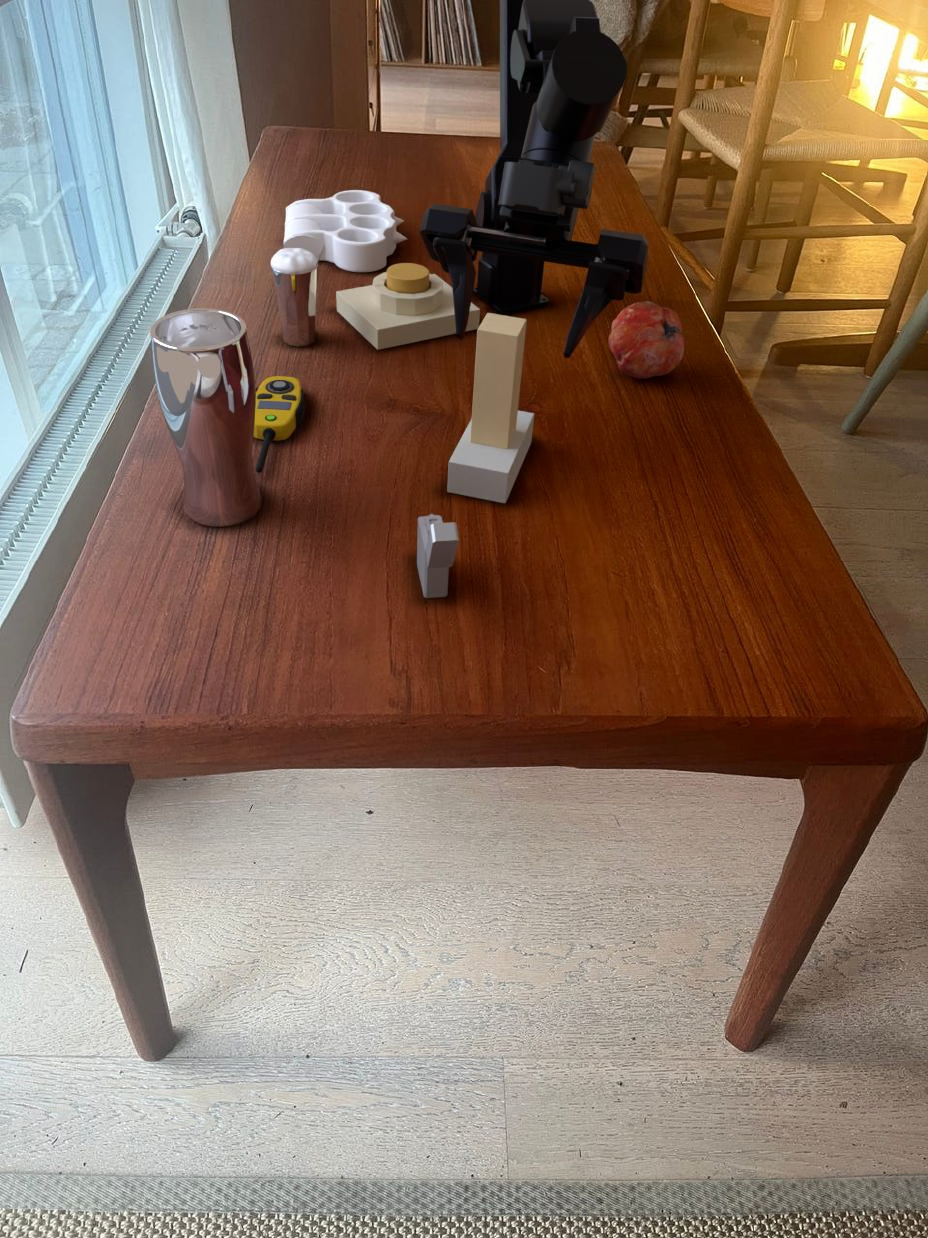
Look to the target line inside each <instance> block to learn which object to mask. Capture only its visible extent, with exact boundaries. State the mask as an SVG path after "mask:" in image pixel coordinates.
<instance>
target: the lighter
mask: <svg viewBox="0 0 928 1238" xmlns="http://www.w3.org/2000/svg"><path fill="white" fill-rule="evenodd" d="M416 542H417V543H416V544H417V545H416V565H417V566H416V567H417V570H418V571H417V572H418V577H419V580H420V587H421V590H422V595H423V598H425V599H435V598H436V599H437V598H446V597H447V596H448V592H449V590H448V589H449V574H450V573H449V571H450V568H451V567H453V566H454V562H455V558H456V554H457V550H458V547H459V542H460V539H459V531H458V525H457V523H456V522H454V521H453V522H452V521H451V522H444V521H443V517H442V516H441V515H438V514H434V513H430V514H429V515H425V516H419V517H417V538H416Z"/></svg>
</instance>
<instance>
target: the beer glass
mask: <svg viewBox="0 0 928 1238" xmlns="http://www.w3.org/2000/svg"><path fill="white" fill-rule="evenodd" d="M149 335H150V339H151V340H150V341H151V350H152V352H151V353H152V362H153V373H154V381H155V387H156V392H157V396H158V401H159V404H160V405H159V406H160V408H161V411H162V415H163V417H164V420H165V421H164V422H165V424H166V426H167V429H168V431H169V434H170V437H171V439H172V442H173V444H174V447H175V450H176V452H177V455H178V458H179V461H180V464H181V467H182V468H181V469H182V473H183V500H182V501H183V510H184V513H185V514H186V516H187V517H188V518H189V519H190V520H192V521H194V522H196V523H197V524H200V525H203V526H205V527H214V528H223V527H224V528H225V527H231V526H236V525H240V524H242V523H244V522H247V521H249V520H251V518H253V517H254V516H256V515H257V513H259V511H260V509H261V507H262V502H263V501H262V494H261V491H260V488H259V485H258V482H257V478H256V475H255V472H254V466H253V445H254V425H255V413H256V377H255V370H254V363H253V358H252V353H251V352H252V351H251V347H250V342H249V337H248V333H247V323H246V322H245V321H244V319H243V318H241V317H240V316H238V315H237V314H235V313H233V312H231V311H227V310H222V309H218V308H208V307H207V308H206V307H201V308H196V307H195V308H188V309H181V310H178V311H177V310H176V311H173V312H170V313H167V314H165V315H163V316H161V317H160V318H158V319H157V320H156V321H154V322H153V323H152V325H151V327H150V329H149Z"/></svg>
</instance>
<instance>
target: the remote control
mask: <svg viewBox="0 0 928 1238" xmlns="http://www.w3.org/2000/svg"><path fill="white" fill-rule="evenodd" d="M300 382H301V381H300V380H299V379H298V378H295V377H293V376H281V375H273V376H269V377H266V378H265V379H264V380H263V381H262V382H261V383H260V385H259V386H256V387H255V389H256V413H255V425H254V436H253V438H256V439H258V440H262V441H263V442H262V446H261V449H260V452H259V456H258V459H257V463H256V465H255V472H256V473H258V474H261V473H262V472H263V470H264V467H265V463H266V459H267V456H268V452H269V449H270V445H271V442H272V441H284V440H287V439H288V438H290V436H292V434H293V433H294V431H295V430H296V429H298V428H299V426H300V425H301V423H302V421H303V418H304V416H305V404H306V403H305V394H304V389H303V388H302V387H301V383H300Z"/></svg>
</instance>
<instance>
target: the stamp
mask: <svg viewBox="0 0 928 1238" xmlns="http://www.w3.org/2000/svg"><path fill="white" fill-rule="evenodd" d="M527 322H528V319H527V318H522V317H515V316H510V315H505V314H499V313H498V314H497V313H492V312H487V313H486V314H485V316H484V318H483V320H482V321H481V323H480V324H479V328H478V329H476V330H477V331H476V346H475V360H474V361H475V362H474V375H473V376H474V377H473V378H474V379H473V390H472V391H473V394H472V408H471V418H470V421H469V422H468V424H467V426H466V428H465V430H464V432H463V434H462V436H461V437H460V440H459V441H458V443H457V445H456V447H455V449H454V451H453V453H452V454H451V457H450V459H448V460H449V461H448V466H447V467H448V469H447V470H448V471H447V488H446V489H447V490H446V492H447V493H451V494H454V495H460V496H465V497H470V498H476V499H481V500H485V501H491V502H496V503H501V504H506V503H507V501H508V499H509V496H510V494H511V491H512V489H513V487H514V484H515V483H516V479H517V477H518V475H519V473H520V470H521V468H522V465H523V464H524V460H525V458H526V456H527V453H528V451H529V449H530V446H531V444H532V439H533V430H534V422H535V413H534V412H529V411H524V410H519V403H520V402H519V401H520V395H521V394H520V393H521V384H522V383H521V381H522V372H523V363H524V352H525V343H526V333H527Z"/></svg>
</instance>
